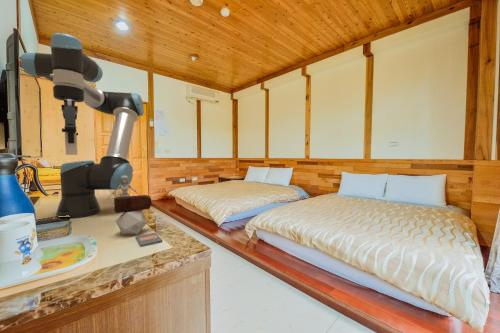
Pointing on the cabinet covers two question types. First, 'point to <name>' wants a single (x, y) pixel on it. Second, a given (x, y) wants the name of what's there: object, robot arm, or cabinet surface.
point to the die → (131, 222)
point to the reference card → (148, 239)
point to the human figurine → (124, 187)
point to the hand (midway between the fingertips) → (71, 154)
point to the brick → (131, 203)
